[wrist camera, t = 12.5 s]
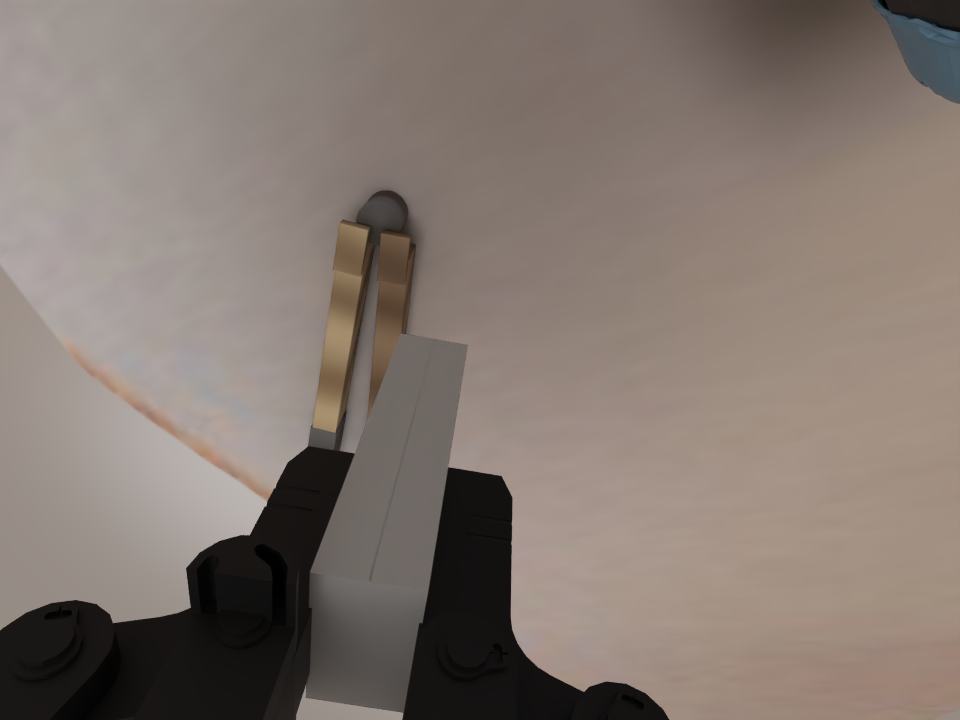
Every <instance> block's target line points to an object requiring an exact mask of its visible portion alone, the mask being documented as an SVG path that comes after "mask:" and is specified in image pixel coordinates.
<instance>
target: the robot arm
mask: <svg viewBox="0 0 960 720" xmlns="http://www.w3.org/2000/svg"><path fill="white" fill-rule="evenodd" d="M871 1H872V4H873V6H874V7H875V9H876V10H877V11H878V12H879V13H880V14H881V15H882V16H883V17H884V18H885V19H886V20H887V21H888V24H889V26H890V28H891V31H892V33H893V35H894V38H895V40H896V42H897V45H898V47H899V49H900V52H901V54H902V56H903V59H904V61H905V63H906V65H907V67H908V69H909V71H910V72H911V74H912V75H913V76H914V77H915V79H916V80H917V81H918V82H919V83H921V84H922V85H924V86H926V87H929V88H930V89H931V90H933V91H934V92H935V93H936V94H937V95H940V96H942V97H943V98H945V99H947V100H949V101H951V102H954V103H958V104H960V0H871ZM467 346H468V345H465V344H459V343H453V342H447V341H442V340H436V339H430V338H424V337H418V336H413V335H407V334H400V336H399V339H398V341H397V344H396V347H395V349H394V352H393V355H392V357H391V360H390V363H389V365H388V368H387V370H386V373H385V376H384V378H383V381H382V384H381V386H380V389H379V392H378V394H377V397H376V399H375V402H374V405H373V407H372V410H371V413H370V415H369V418H368V421H367V423H366V426H365V428H364V431H363V434H362V436H361V439H360V442H359V444H358V447H357V450H356V452H355V454H354V453H348V452H342V451H336V450H330V449H324V448H318V447H312V446H308V447H307V448H306V449H304V450H303V451H302V452H301V453H299V454H298V455H297V456H296V457H294V458H293V459H292V460H290V461H289V462H288V463H287V465H286V467H285V469H284V471H283V473H282V475H281V477H280V479H279V480H278V482H277V485H276V488H274V490H273V492H272V494H271V496H270V498H269V500H268V501H267V506H266V507H264V509H263V511H262V513H261V515H260V517H259V519H258V521H257V523H256V524H255V527H254V528H253V530H252V532H251V534H250V535H247V536H246V535H240V536H237V537H233V538H229V539H226V540H222V541H219V542H217V543H215V544H214V545H212V546H210V547H209V548H207V549H205V550H204V551H202V552H200V553H199V554H198V555H197V557H196V558H195V559H194V560H193V561H192V562H191V563H190V565H189V566H188V567H187V568H186V571H187V579H188V588H189V596H190V604H191V608H189V609H187V610H185V611H182V612H180V613H177V614H172V615H167V616H163V617H157V618H149V619H142V620H134V621H127V622H119V623H113V622H112V619H111V617H110V614H108V613H107V612H106V611H105V610H103V609H102V608H100V607H99V606H98V605H97V604H93V603H88V602H83V601H78V600H73V601H65V602H57V603H51V604H48V605H46V606H43V607H40V608H38V609H35V610H32V611H30V612H27V613H25V614H24V615H22V616H21V617H19V618H18V619H16V620H15V621H13V622H12V623H10V624H9V625H7V626H6V627H4V628H3V629H2V630H0V720H296V714H297V710H298V708H299V704H300V701H301V698H302V695H303V692H304V689H305V685H306V698H311V699H317V700H324V701H330V702H338V703H344V704H350V705H357V706H363V707H370V708H377V709H383V710H390V711H396V712H403V719H402V720H669V718H668V717H667V715H666V714H665V712H664V710H663V709H662V708H661V707H660V706H659V705H658V704H656V703H655V702H654V701H653V700H652V699H651V698H650V697H649V696H648V695H647V694H646V693H644V692H641V691H639V690H637V689H635V688H633V687H631V686H629V685H627V684H623V683H614V682H603V683H600V684H597V685H594V686H591V687H589V688H588V689H587V690H586V691H585V692H583V691H581V690H579V689H577V688H575V687H573V686H571V685H569V684H567V683H565V682H563V681H561V680H559V679H557V678H555V677H553V676H551V675H549V674H548V673H546V672H544V671H543V670H541V669H540V668H538V667H537V666H536V665H535V664H534V663H533V662H532V661H531V660H530V659H529V658H527V657H526V655H525V654H524V652H523V651H522V649H521V648H520V647H519V645H518V644H517V641H516V639H515V636H514V634H513V631H512V625H511V554H512V545H511V541H512V525H511V524H512V496H511V494H510V492H509V490H508V488H507V486H506V484H505V482H504V480H503V478H502V476H498V475H492V474H486V473H480V472H474V471H467V470H461V469H455V468H449V467H448V465H449V459H450V452H451V446H452V440H453V434H454V427H455V421H456V415H457V409H458V402H459V396H460V390H461V384H462V377H463V371H464V365H465V359H466V352H467Z"/></svg>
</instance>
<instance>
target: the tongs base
mask: <svg viewBox="0 0 960 720" xmlns="http://www.w3.org/2000/svg"><path fill="white" fill-rule="evenodd" d="M407 214H408V212H407V207H406V204H405V202H404V201H403V199H402V198H401V197H400V196H399V195H397V194H396V193H394V192H391V191H380V192H377V193H375V194H374V195H372V196H371V198H370V199H369V200H368V201H367V202H366V204H365V205H364V206H363V207H362V208H361V210H360V211H359V213H358V216H357V224H361V225H365V226H369V227H370V233H369V239H368V241H369V242H370V243H373V244H376V245H380V252H379V264H378V276H377V281H379V292H378V304H377V315H376V327H375V338H374V350H373V362H372V373H371V385H370V396H369V408H368V418H369V415H370V413H371V410H372V407H373V405H374V402H375V399H376V397H377V394H378V392H379V389H380V386H381V384H382V381H383V378H384V376H385V373H386V370H387V368H388V365H389V363H390V360H391V357H392V355H393V352H394V349H395V347H396V344H397V341H398V339H399V336H400V334H406V327H407V318H408V310H409V301H410V292H411V284H412V275H413V266H414V257H415V249H416V245H412V244H410V243H411V235H409V234H404V233H400V231H401V229H402V227H403V225H404V224H405V222H406V219H407ZM367 421H368V420H367Z"/></svg>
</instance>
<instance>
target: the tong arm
mask: <svg viewBox="0 0 960 720" xmlns="http://www.w3.org/2000/svg"><path fill="white" fill-rule="evenodd" d="M369 233H370V227H369V226H365V225H361V224H357V223H354V222H350V221H346V220H342V221H341V222H340V224H339V231H338V238H337V245H336V252H335V259H334V266H333V270H335V275H334V282H333V289H332V296H331V303H330V310H329V316H328V323H327V330H326V337H325V344H324V351H323V358H322V365H321V372H320V378H319V385H318V392H317V399H316V406H315V413H314V420H313V424H312V426H311V430H310V437H309V444H308V446H312V447H318V448H324V449H330V450H336V451H339V450H340V445H341V439H342V433H343V428H344V422H345V416H346V411H345V410H346V404H347V399H348V393H349V387H350V382H351V376H352V370H353V365H354V359H355V353H356V348H357V342H358V336H359V331H360V325H361V319H362V314H363V308H364V302H365V297H366V291H367V285H368V280H369V274H370V268H371V263H372V257H373V251H374V246H375V244H373V243H370V242H369V241H368V239H369Z"/></svg>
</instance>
